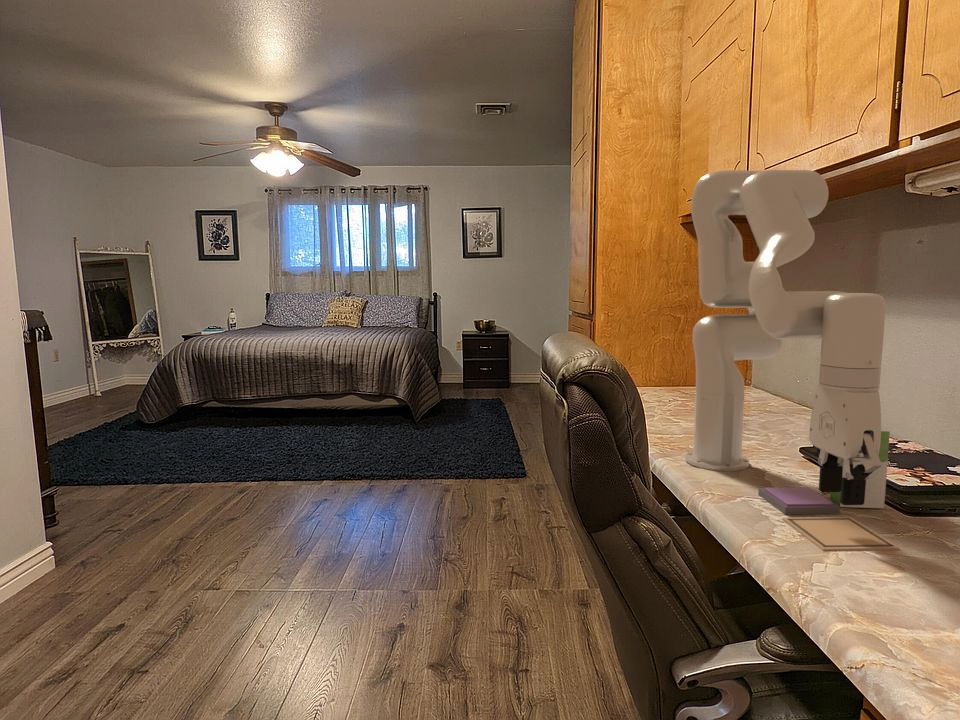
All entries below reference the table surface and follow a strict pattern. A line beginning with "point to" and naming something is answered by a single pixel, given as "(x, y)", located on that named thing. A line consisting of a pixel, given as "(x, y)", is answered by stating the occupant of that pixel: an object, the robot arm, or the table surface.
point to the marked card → (839, 534)
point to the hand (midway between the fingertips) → (840, 496)
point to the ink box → (871, 479)
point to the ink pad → (798, 501)
